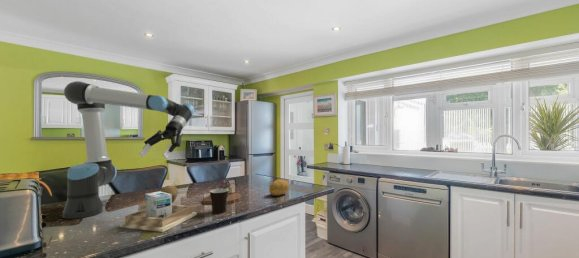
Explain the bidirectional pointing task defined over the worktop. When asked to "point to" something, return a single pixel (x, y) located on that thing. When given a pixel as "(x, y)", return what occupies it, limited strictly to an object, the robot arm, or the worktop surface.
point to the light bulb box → (158, 204)
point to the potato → (278, 187)
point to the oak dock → (158, 219)
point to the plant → (231, 196)
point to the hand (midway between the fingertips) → (152, 155)
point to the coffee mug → (219, 200)
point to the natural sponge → (171, 191)
